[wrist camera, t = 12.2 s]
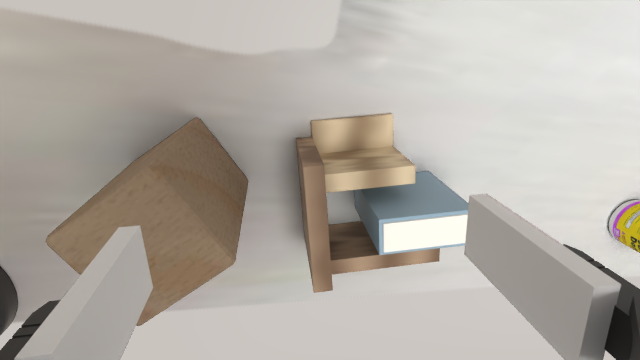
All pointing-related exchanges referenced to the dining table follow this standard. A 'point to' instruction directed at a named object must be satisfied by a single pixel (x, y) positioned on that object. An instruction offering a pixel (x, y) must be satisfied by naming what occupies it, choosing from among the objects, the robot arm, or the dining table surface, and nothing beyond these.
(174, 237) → the wooden block
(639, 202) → the supplement bottle
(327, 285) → the shelf corner
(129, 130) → the dining table surface
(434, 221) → the book box
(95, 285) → the robot arm
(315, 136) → the bookend
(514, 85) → the dining table surface
